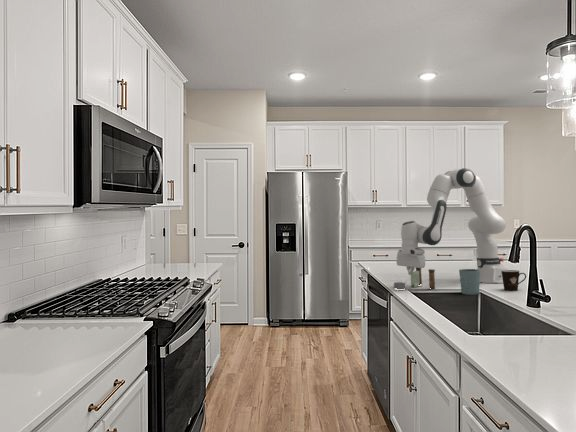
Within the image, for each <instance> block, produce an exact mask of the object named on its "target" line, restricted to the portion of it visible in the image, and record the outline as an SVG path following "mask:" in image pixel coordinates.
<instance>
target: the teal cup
mask: <svg viewBox="0 0 576 432" xmlns="http://www.w3.org/2000/svg"><path fill="white" fill-rule="evenodd" d="M458 272H459V283H460V292H461V294H463V295H466V296H467V295H469V296H470V295H471V296H472V295H474V296H475V295H479V294H480V283H481V282H480V270H478V268H477V269H475V268H463V269H461V268H460V269H459V270H458Z"/></svg>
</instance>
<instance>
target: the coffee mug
mask: <svg viewBox="0 0 576 432" xmlns="http://www.w3.org/2000/svg"><path fill="white" fill-rule="evenodd" d="M501 272H502V278H503V283H502V284H503V285H502V286H503V291H509V292H516V291H518V290H519V284H521V283H522V282H524V281H525V280H526V279H527V274H526V273H525V272H520V270H516V269H508V270H502V271H501ZM520 275H524V278H523V279H522V280H520V278H519V277H520Z"/></svg>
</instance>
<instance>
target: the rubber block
mask: <svg viewBox="0 0 576 432" xmlns="http://www.w3.org/2000/svg"><path fill="white" fill-rule="evenodd" d="M394 288H397V289H404V288H405V289H406V283H405V282H402V281H397V282H393V289H394Z"/></svg>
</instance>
